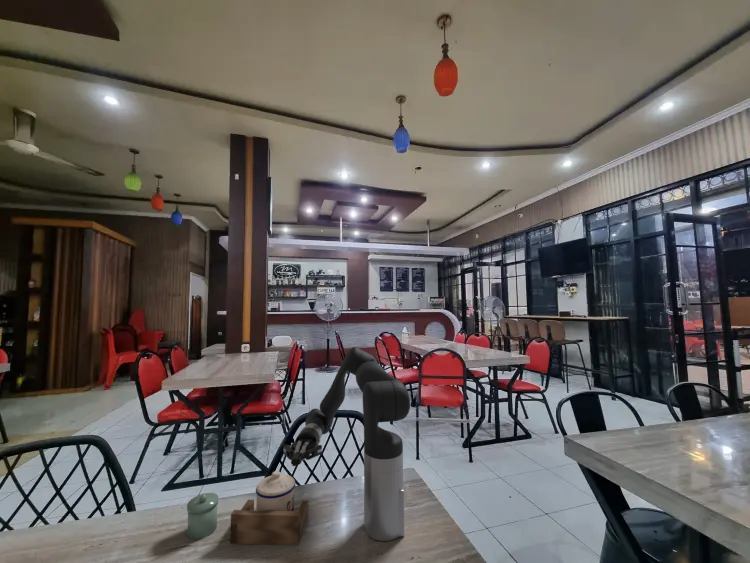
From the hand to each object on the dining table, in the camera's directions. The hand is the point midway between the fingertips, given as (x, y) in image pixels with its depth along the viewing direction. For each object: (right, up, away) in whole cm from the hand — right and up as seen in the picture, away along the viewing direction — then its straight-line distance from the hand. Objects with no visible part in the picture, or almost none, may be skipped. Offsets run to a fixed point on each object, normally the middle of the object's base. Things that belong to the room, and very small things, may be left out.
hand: (294, 462), depth 94 cm
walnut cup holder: (-1, -4, -20) cm, 20 cm away
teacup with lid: (0, -5, -16) cm, 17 cm away
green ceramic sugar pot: (-17, -5, -20) cm, 26 cm away
